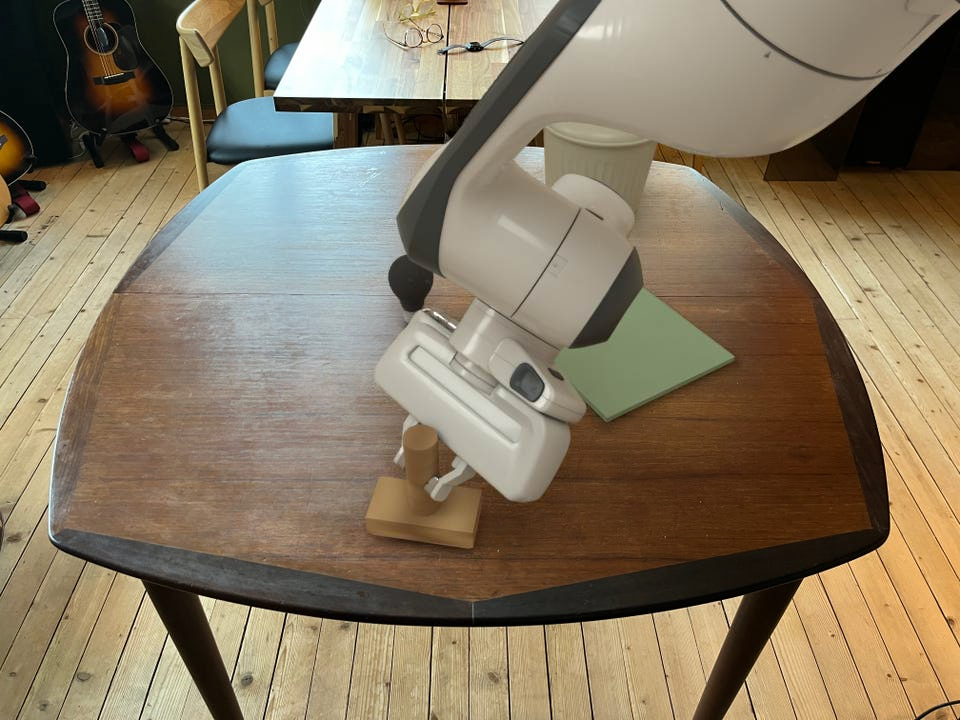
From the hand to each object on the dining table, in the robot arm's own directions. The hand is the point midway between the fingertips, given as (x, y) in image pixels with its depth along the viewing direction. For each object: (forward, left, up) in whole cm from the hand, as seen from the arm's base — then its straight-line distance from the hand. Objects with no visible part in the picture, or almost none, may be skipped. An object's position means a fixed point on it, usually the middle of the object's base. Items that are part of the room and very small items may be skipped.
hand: (417, 482), depth 65 cm
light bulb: (+29, -15, -8) cm, 34 cm away
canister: (+38, -51, -8) cm, 64 cm away
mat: (+14, -35, -8) cm, 38 cm away
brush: (0, -1, -7) cm, 7 cm away
